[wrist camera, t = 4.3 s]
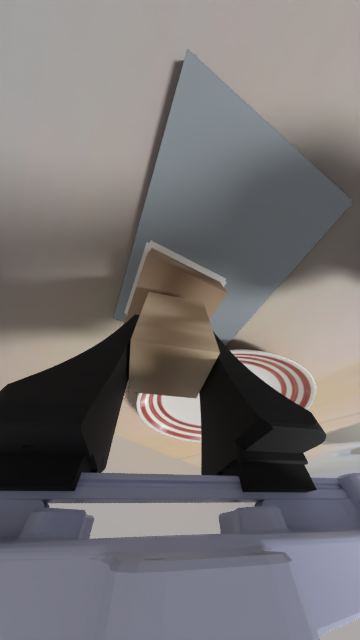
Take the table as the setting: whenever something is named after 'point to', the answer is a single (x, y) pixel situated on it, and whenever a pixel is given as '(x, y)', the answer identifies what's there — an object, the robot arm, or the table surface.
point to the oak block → (171, 347)
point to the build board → (229, 200)
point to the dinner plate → (184, 413)
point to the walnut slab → (174, 284)
